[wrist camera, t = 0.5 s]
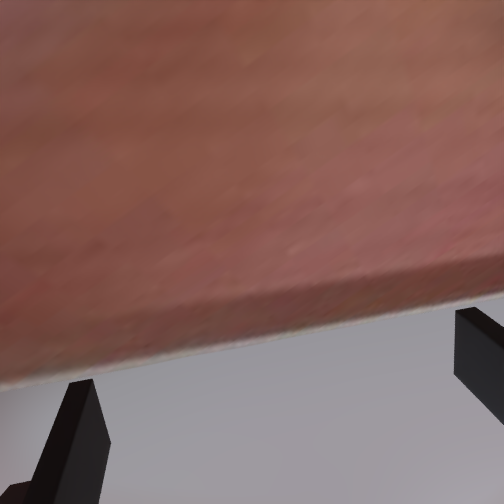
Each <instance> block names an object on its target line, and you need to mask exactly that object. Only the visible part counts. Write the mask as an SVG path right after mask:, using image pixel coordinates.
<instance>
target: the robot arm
mask: <svg viewBox="0 0 504 504" xmlns="http://www.w3.org/2000/svg"><path fill="white" fill-rule="evenodd" d="M454 375H455V376H456V377H457V378H458V379H459V380H461V382H462V383H463V384H464V385H465V386H466V387H467V388H468V389H469V390H470V391H471V392H472V393H473V394H474V395H475V396H476V397H477V398H478V399H479V400H480V401H481V402H482V403H483V404H484V405H485V406H486V407H487V408H488V409H489V410H490V411H491V412H492V413H493V415H494V416H495V417H497V419H498V420H499V421H500V422H501V423H502V424H503V425H504V327H503V326H501V325H500V324H498V323H497V322H495V321H494V320H493V319H491V318H490V317H489V316H487V315H486V314H484V313H483V312H482V311H480V310H479V309H477V308H476V307H471V308H466V309H460V310H456V311H455V350H454ZM110 445H111V441H110V438H109V434H108V431H107V428H106V424H105V421H104V417H103V414H102V410H101V407H100V403H99V399H98V396H97V393H96V389H95V386H94V382H93V379H88V380H82V381H77V382H72V383H69V386H68V389H67V391H66V393H65V396H64V398H63V401H62V403H61V406H60V408H59V411H58V414H57V416H56V419H55V421H54V424H53V426H52V429H51V431H50V434H49V437H48V439H47V442H46V444H45V447H44V449H43V452H42V454H41V457H40V459H39V462H38V464H37V467H36V470H35V472H34V475H33V477H32V480H31V481H27V482H23V483H17V484H13V485H10V486H9V487H8V488H7V489H6V490H5V492H4V493H3V494H2V495H1V496H0V504H99V498H100V494H101V489H102V484H103V479H104V474H105V470H106V465H107V460H108V455H109V450H110Z"/></svg>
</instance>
